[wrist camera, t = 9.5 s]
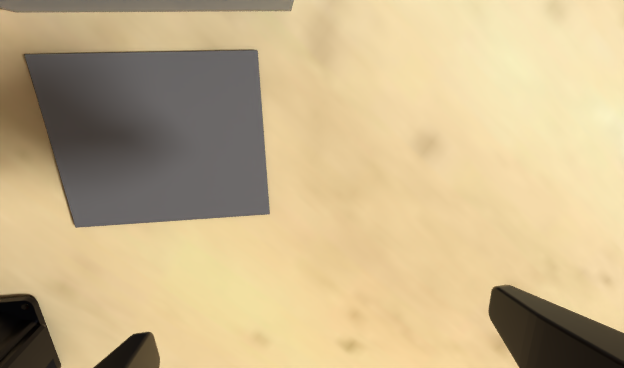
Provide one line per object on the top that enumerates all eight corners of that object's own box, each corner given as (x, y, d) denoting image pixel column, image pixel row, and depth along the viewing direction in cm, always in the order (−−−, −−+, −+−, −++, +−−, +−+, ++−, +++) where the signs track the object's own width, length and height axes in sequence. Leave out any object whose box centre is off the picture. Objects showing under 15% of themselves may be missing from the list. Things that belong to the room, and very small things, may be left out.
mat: (78, 225, 20) (75, 227, 20) (28, 54, 17) (24, 54, 16) (269, 212, 21) (269, 214, 21) (257, 50, 18) (257, 50, 17)
